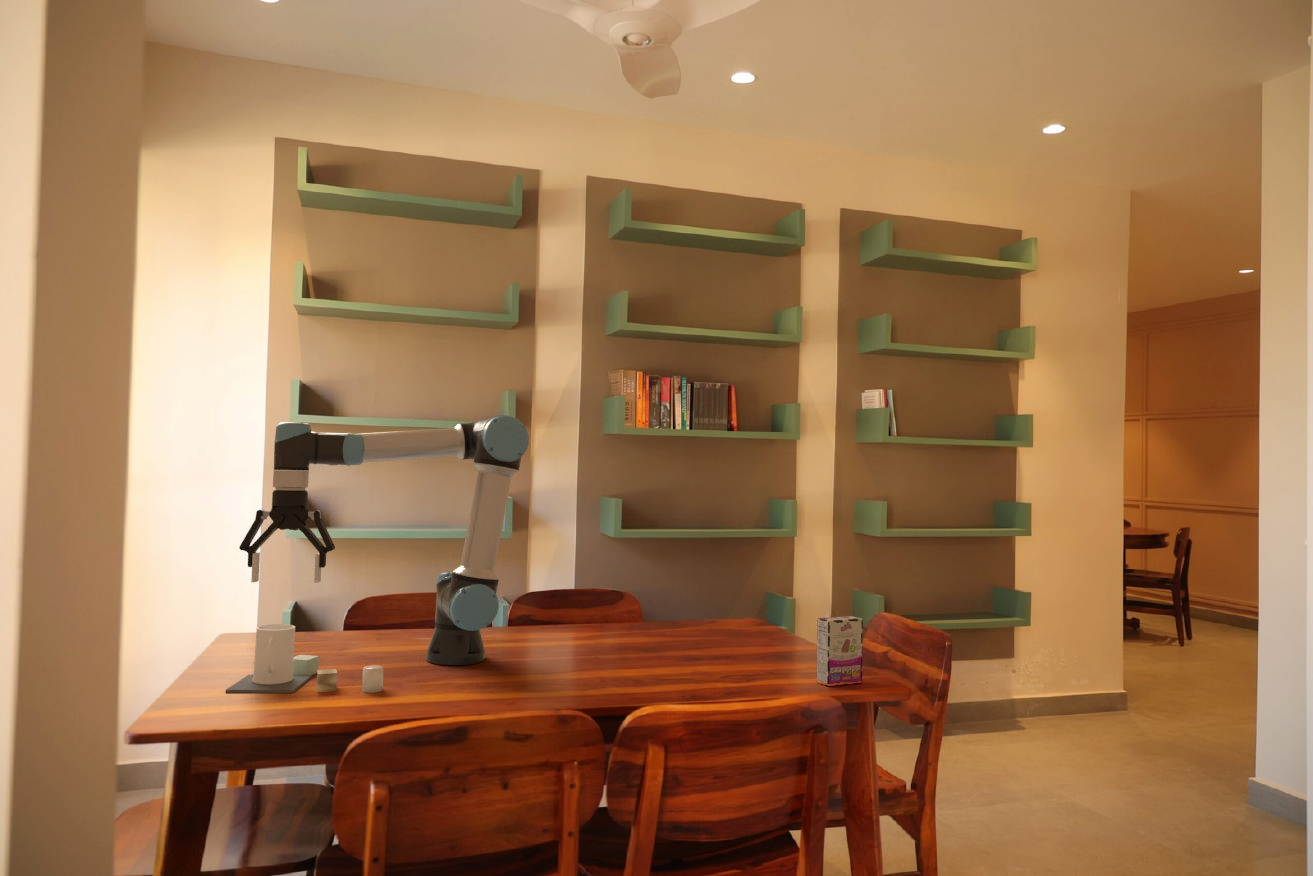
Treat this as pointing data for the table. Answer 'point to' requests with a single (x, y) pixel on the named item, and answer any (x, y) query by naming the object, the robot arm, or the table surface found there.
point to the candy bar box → (839, 649)
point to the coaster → (250, 687)
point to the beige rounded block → (372, 679)
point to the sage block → (305, 665)
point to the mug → (274, 654)
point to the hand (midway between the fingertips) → (286, 582)
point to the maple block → (326, 680)
